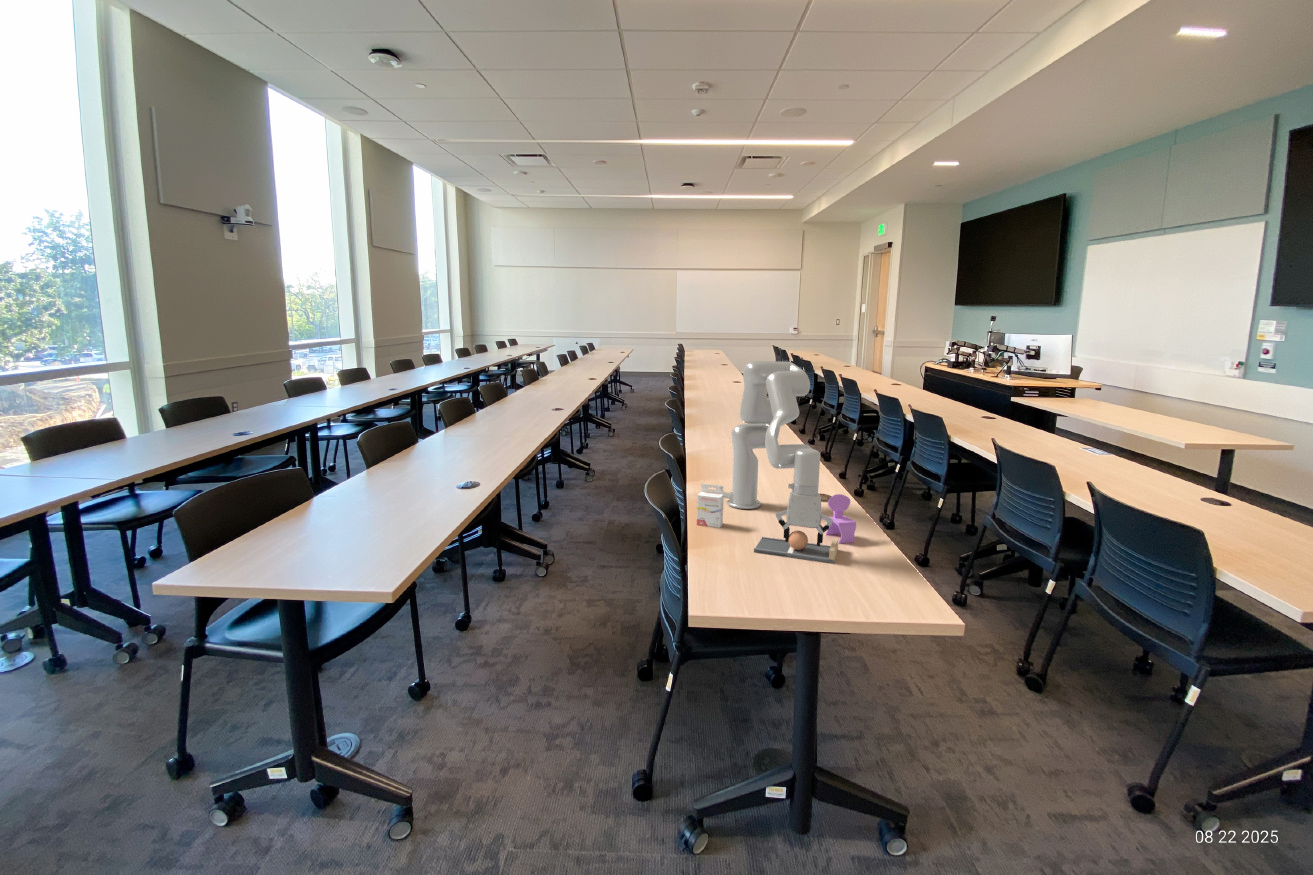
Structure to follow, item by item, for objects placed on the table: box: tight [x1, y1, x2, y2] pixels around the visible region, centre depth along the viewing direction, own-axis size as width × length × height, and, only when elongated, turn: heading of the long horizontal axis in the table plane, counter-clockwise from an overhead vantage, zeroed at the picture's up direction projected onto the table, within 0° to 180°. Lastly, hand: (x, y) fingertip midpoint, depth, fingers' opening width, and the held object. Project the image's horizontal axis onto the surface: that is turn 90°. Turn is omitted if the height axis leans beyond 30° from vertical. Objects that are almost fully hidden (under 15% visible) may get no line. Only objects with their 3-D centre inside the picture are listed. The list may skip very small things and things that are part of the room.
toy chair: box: [825, 493, 857, 545], centre depth 196 cm, size 8×9×15 cm
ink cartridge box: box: [696, 483, 725, 529], centre depth 209 cm, size 9×5×15 cm, turn 71°
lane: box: [753, 536, 839, 565], centre depth 187 cm, size 24×12×4 cm, turn 68°
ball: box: [788, 529, 809, 550], centre depth 186 cm, size 6×6×6 cm
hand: (802, 542), depth 186 cm, fingers open, 9 cm apart
